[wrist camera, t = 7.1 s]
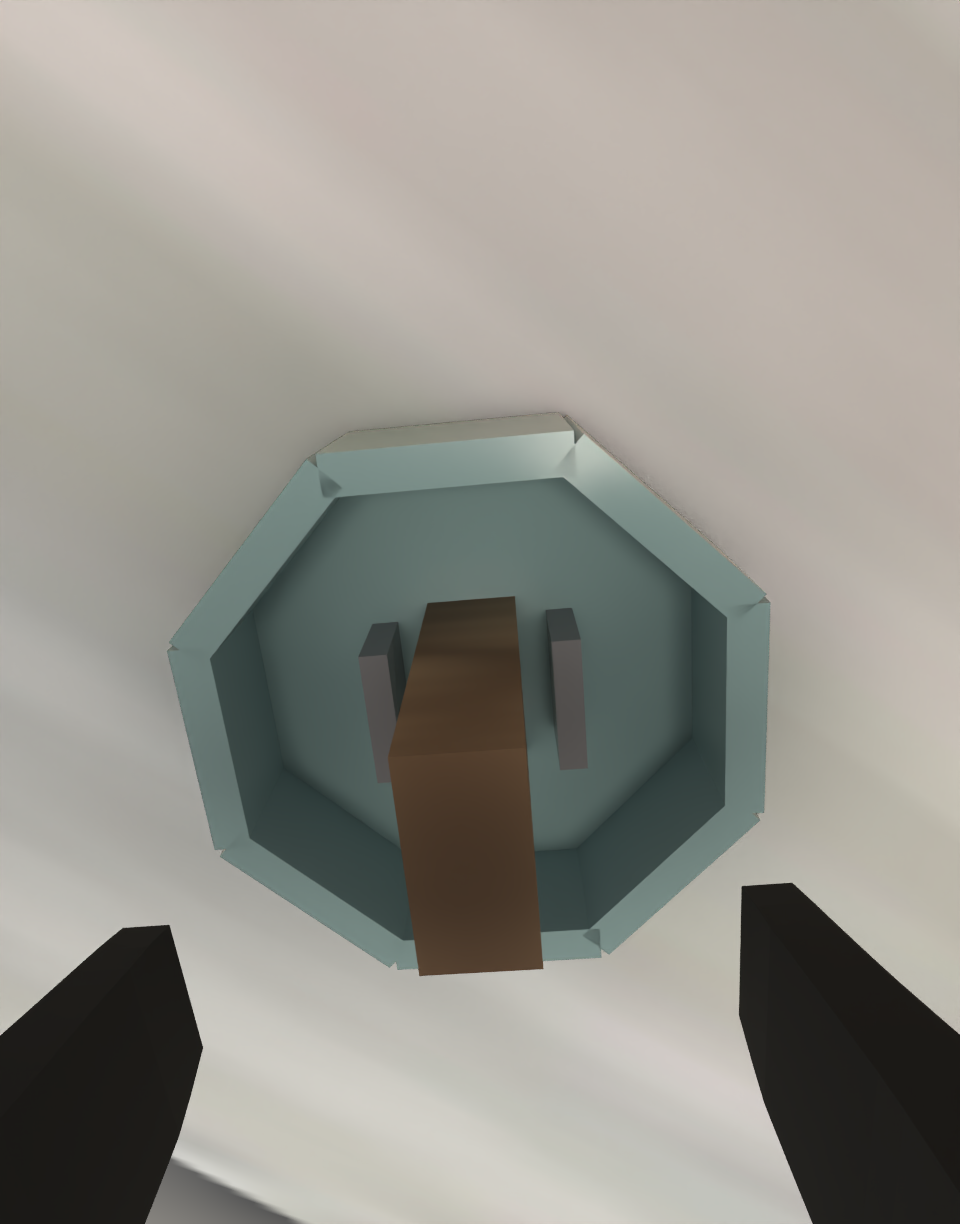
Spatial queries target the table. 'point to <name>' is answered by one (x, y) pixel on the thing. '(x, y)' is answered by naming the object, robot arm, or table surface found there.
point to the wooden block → (467, 794)
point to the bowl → (549, 659)
